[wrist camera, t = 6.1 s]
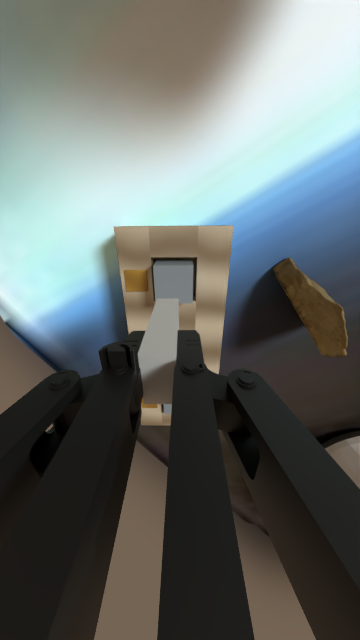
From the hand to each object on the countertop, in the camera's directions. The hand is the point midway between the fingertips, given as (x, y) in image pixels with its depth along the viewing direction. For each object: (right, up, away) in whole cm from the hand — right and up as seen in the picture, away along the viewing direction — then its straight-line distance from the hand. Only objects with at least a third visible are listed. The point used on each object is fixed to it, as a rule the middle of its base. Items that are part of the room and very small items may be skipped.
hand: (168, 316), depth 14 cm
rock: (+17, +4, +13) cm, 22 cm away
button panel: (0, -3, +16) cm, 16 cm away
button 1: (0, +5, +9) cm, 11 cm away
